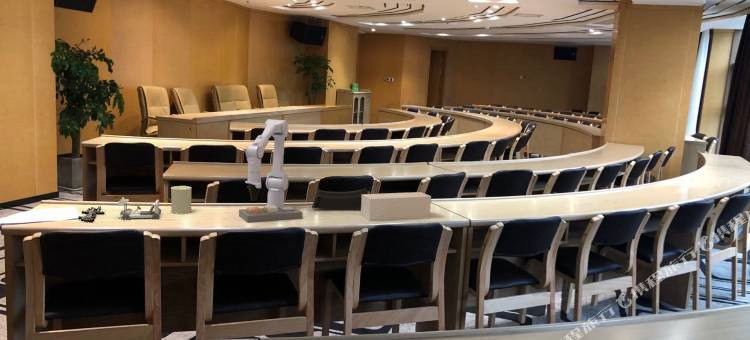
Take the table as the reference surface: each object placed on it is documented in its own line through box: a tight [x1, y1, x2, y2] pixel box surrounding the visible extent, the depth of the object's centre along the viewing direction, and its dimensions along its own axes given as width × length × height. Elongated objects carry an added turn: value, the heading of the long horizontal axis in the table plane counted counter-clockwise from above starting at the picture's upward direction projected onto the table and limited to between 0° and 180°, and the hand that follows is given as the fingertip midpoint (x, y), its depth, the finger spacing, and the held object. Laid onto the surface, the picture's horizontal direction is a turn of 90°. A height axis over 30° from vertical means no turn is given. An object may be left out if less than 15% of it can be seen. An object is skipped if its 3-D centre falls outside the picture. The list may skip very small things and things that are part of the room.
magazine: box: [311, 188, 371, 212], centre depth 302 cm, size 17×3×30 cm
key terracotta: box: [246, 206, 261, 214], centre depth 277 cm, size 5×5×3 cm
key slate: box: [280, 207, 294, 211], centre depth 285 cm, size 5×5×3 cm
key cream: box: [263, 205, 278, 213], centre depth 281 cm, size 5×5×3 cm
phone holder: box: [116, 196, 162, 221], centre depth 271 cm, size 18×10×12 cm
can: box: [170, 185, 192, 215], centre depth 284 cm, size 9×9×12 cm
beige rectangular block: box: [360, 191, 432, 222], centre depth 293 cm, size 32×11×11 cm, turn 113°
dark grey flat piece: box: [78, 205, 105, 224], centre depth 271 cm, size 27×2×10 cm
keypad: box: [238, 205, 303, 223], centre depth 281 cm, size 14×26×3 cm, turn 118°
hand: (254, 200), depth 277 cm, fingers closed
